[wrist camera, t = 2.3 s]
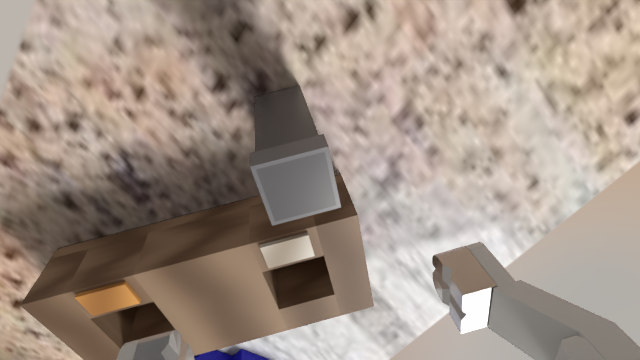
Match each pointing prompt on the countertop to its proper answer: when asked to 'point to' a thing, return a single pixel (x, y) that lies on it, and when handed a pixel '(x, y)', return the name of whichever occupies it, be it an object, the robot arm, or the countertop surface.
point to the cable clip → (228, 356)
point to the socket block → (204, 279)
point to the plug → (291, 158)
